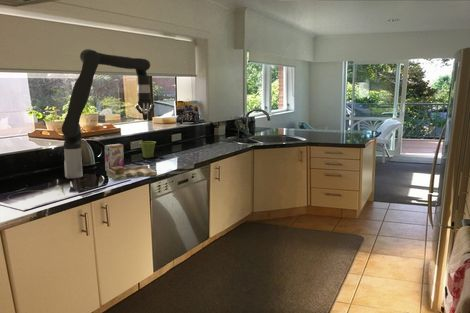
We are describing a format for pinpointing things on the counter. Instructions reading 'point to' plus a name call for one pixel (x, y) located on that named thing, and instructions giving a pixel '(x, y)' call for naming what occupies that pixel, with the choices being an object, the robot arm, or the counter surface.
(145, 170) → the box
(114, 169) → the walnut block
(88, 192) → the counter surface
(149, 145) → the plant pot
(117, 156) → the candy bar box
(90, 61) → the robot arm
